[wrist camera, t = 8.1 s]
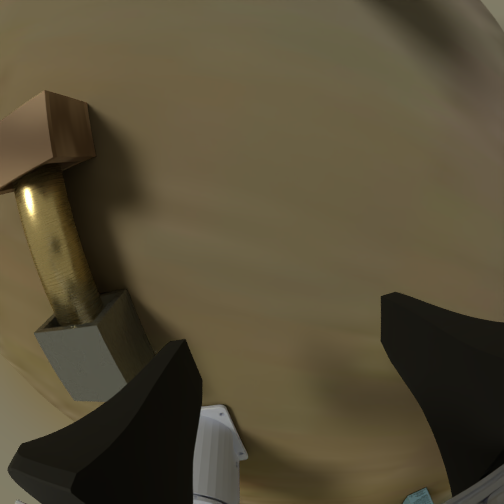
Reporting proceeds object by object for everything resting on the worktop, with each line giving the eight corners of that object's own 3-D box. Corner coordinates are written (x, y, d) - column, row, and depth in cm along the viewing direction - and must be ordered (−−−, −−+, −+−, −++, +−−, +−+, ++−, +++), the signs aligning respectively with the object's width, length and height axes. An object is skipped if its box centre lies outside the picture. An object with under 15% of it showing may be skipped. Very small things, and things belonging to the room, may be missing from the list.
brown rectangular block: (96, 156, 16) (53, 157, 12) (27, 188, 17) (-18, 199, 12) (87, 103, 15) (44, 90, 10) (19, 140, 15) (-25, 141, 11)
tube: (115, 307, 19) (94, 334, 15) (78, 313, 19) (55, 338, 15) (64, 128, 15) (32, 125, 11) (29, 148, 15) (-4, 149, 12)
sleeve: (155, 356, 21) (137, 401, 16) (98, 361, 21) (74, 400, 16) (126, 288, 19) (96, 325, 14) (68, 300, 19) (33, 333, 14)
